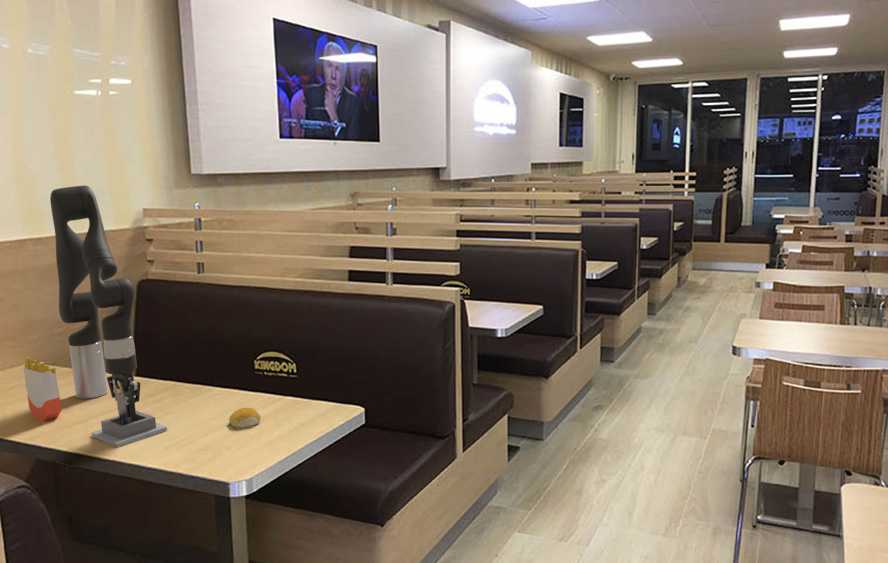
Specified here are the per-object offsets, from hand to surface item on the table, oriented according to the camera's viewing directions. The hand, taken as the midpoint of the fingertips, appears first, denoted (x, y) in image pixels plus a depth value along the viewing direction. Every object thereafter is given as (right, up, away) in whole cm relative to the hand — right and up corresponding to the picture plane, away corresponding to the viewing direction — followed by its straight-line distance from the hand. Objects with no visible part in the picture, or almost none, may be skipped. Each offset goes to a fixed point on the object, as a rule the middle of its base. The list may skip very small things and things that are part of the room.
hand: (127, 415), depth 195 cm
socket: (0, -5, +1) cm, 5 cm away
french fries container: (-31, -4, +17) cm, 36 cm away
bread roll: (+30, -3, +6) cm, 31 cm away
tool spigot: (0, -2, 0) cm, 2 cm away
